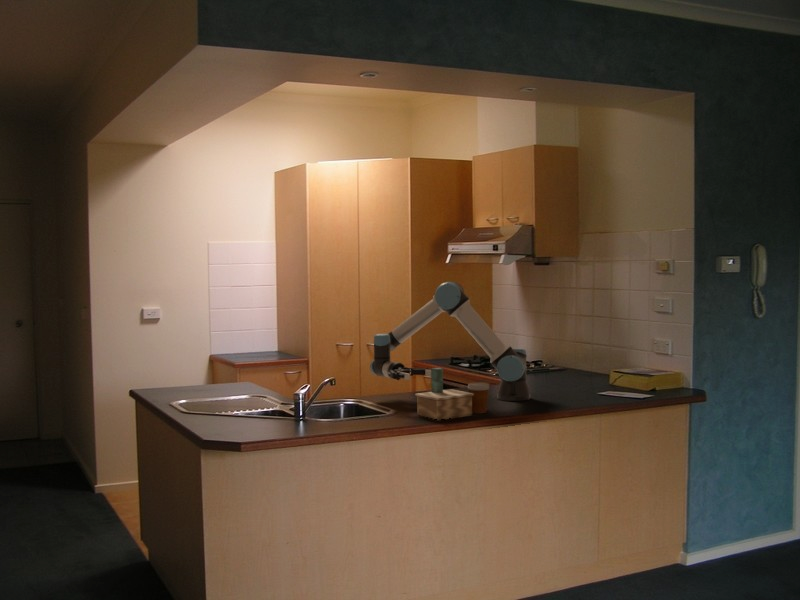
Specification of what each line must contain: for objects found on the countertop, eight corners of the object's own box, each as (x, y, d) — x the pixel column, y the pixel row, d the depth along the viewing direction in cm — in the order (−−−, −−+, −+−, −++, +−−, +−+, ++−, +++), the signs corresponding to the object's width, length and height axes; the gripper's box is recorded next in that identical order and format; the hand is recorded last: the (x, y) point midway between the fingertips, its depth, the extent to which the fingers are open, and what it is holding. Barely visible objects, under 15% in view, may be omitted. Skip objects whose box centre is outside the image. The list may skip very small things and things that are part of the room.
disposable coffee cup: (472, 414, 354) (472, 386, 353) (464, 410, 363) (464, 382, 362) (493, 413, 356) (493, 384, 356) (484, 409, 365) (484, 381, 365)
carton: (451, 410, 364) (450, 391, 363) (472, 415, 352) (471, 396, 352) (417, 415, 353) (417, 396, 353) (437, 420, 342) (437, 400, 341)
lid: (451, 390, 364) (450, 365, 363) (473, 395, 352) (473, 369, 351) (415, 395, 353) (415, 369, 352) (437, 400, 341) (437, 373, 340)
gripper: (416, 376, 389) (445, 381, 372) (371, 381, 375) (398, 387, 357) (416, 359, 389) (445, 364, 371) (370, 364, 374) (398, 369, 357)
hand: (422, 375), depth 364 cm, fingers open, 13 cm apart
